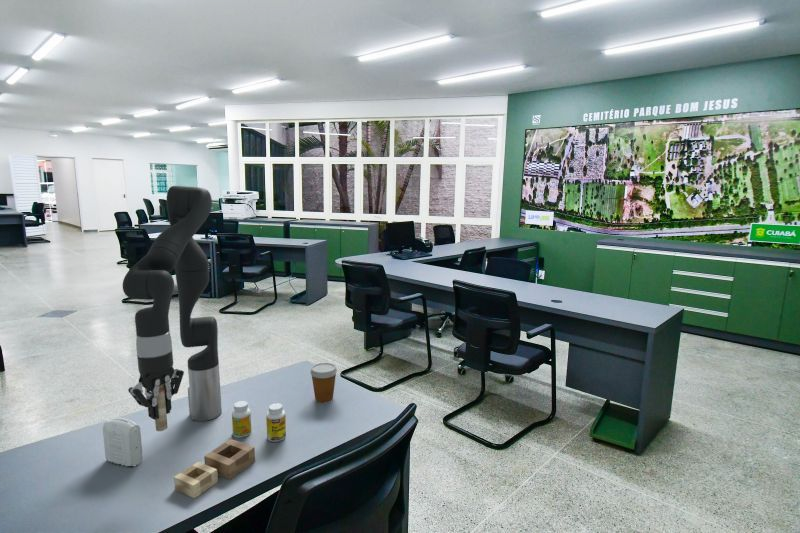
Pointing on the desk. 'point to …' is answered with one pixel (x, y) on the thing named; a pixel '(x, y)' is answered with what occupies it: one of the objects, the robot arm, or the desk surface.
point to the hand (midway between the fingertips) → (160, 415)
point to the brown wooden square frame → (230, 458)
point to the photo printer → (122, 441)
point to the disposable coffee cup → (323, 381)
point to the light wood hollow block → (195, 479)
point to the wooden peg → (161, 410)
